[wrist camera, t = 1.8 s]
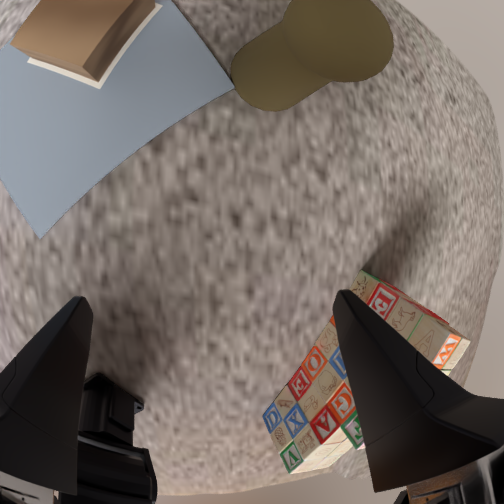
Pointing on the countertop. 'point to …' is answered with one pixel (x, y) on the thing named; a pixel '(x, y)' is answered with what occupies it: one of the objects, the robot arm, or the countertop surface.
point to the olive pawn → (312, 52)
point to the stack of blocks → (337, 385)
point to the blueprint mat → (97, 112)
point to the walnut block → (80, 32)
